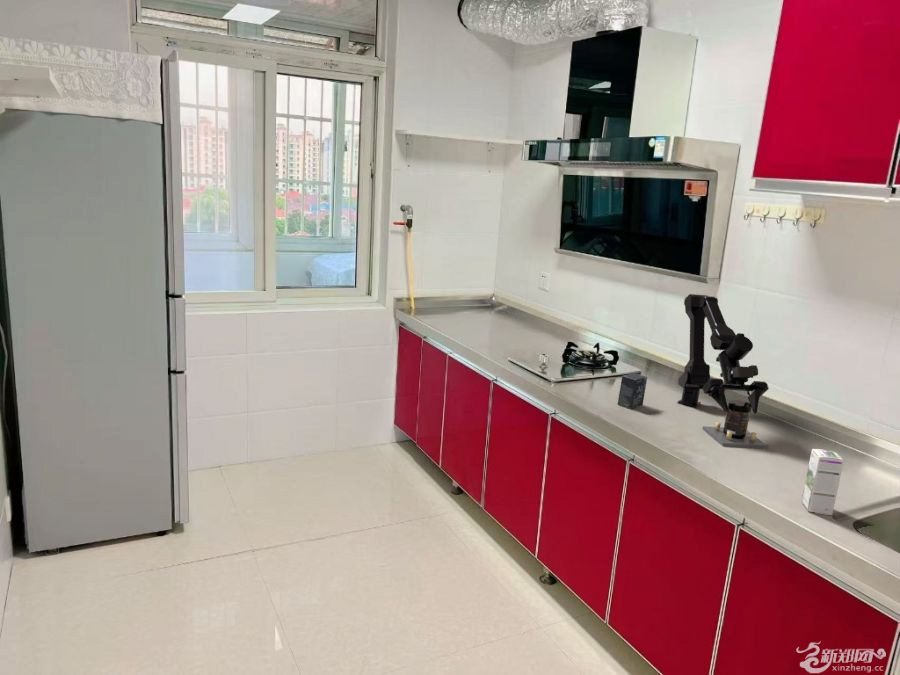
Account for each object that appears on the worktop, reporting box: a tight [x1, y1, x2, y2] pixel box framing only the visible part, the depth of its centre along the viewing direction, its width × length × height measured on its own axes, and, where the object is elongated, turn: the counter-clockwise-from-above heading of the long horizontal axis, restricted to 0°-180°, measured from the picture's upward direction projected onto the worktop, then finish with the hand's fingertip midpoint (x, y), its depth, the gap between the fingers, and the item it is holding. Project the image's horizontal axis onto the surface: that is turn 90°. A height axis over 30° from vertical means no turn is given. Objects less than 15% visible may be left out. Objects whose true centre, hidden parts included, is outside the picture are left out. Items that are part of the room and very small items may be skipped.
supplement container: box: [723, 399, 752, 439], centre depth 213 cm, size 7×7×10 cm
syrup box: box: [801, 448, 845, 516], centre depth 168 cm, size 6×6×14 cm
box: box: [617, 372, 648, 410], centre depth 238 cm, size 8×6×11 cm
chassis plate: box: [702, 421, 768, 449], centre depth 214 cm, size 14×14×4 cm
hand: (741, 412), depth 211 cm, fingers open, 9 cm apart
